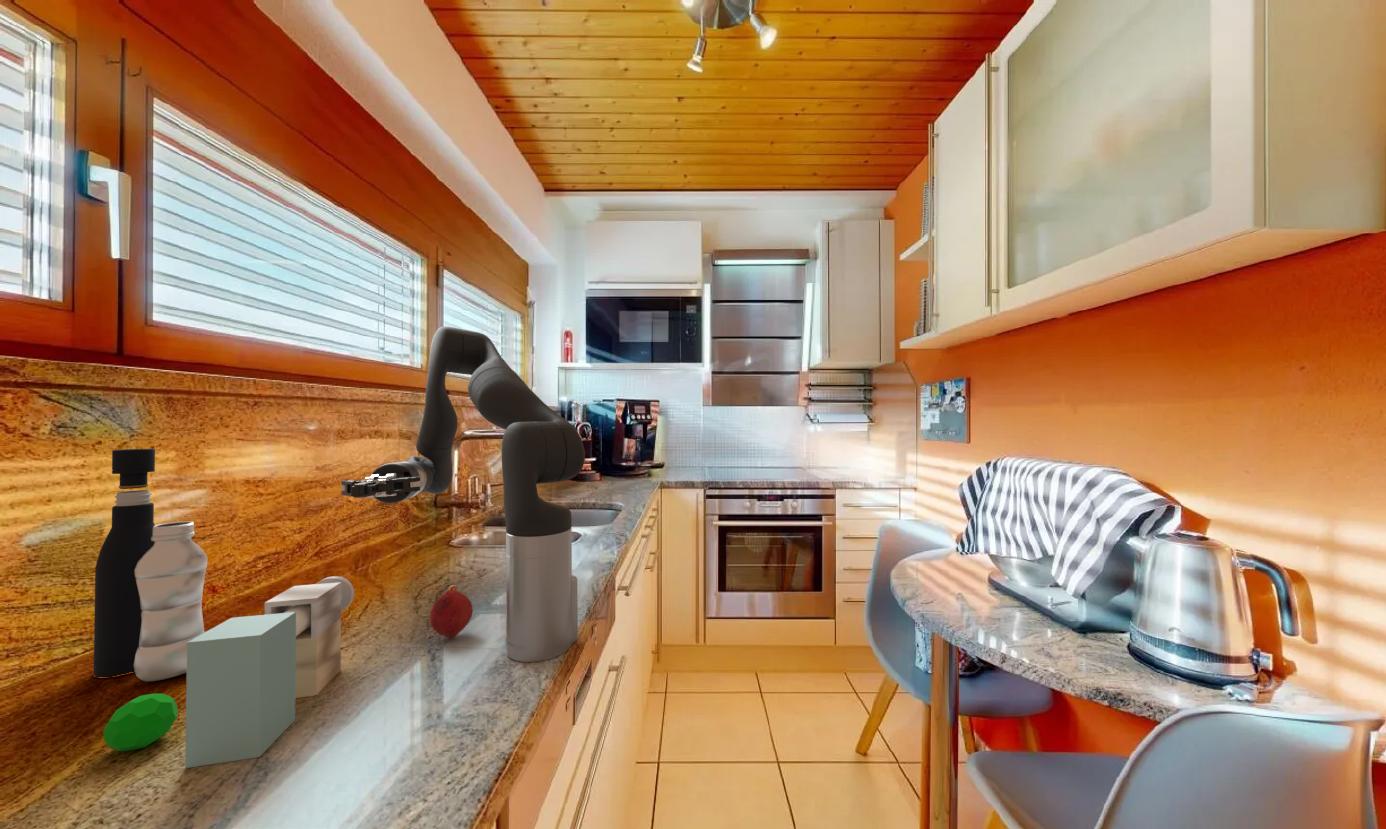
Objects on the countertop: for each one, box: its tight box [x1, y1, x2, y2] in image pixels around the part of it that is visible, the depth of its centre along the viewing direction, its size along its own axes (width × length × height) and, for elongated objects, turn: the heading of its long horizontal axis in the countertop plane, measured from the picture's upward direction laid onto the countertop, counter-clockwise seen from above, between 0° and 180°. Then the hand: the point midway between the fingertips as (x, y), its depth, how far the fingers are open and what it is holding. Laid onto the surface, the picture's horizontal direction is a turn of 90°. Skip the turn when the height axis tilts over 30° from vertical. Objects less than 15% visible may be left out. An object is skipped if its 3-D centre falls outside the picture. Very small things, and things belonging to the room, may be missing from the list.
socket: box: [184, 612, 296, 769], centre depth 49 cm, size 6×6×12 cm
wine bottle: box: [93, 448, 156, 677], centre depth 65 cm, size 6×6×30 cm
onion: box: [429, 584, 474, 639], centre depth 72 cm, size 6×6×8 cm
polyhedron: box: [102, 692, 179, 752], centre depth 48 cm, size 5×5×5 cm
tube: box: [284, 575, 355, 636], centre depth 58 cm, size 18×5×5 cm, turn 14°
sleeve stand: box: [264, 582, 342, 699], centre depth 59 cm, size 6×5×12 cm
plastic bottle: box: [133, 521, 209, 682], centre depth 62 cm, size 6×7×20 cm
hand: (359, 491), depth 74 cm, fingers closed
